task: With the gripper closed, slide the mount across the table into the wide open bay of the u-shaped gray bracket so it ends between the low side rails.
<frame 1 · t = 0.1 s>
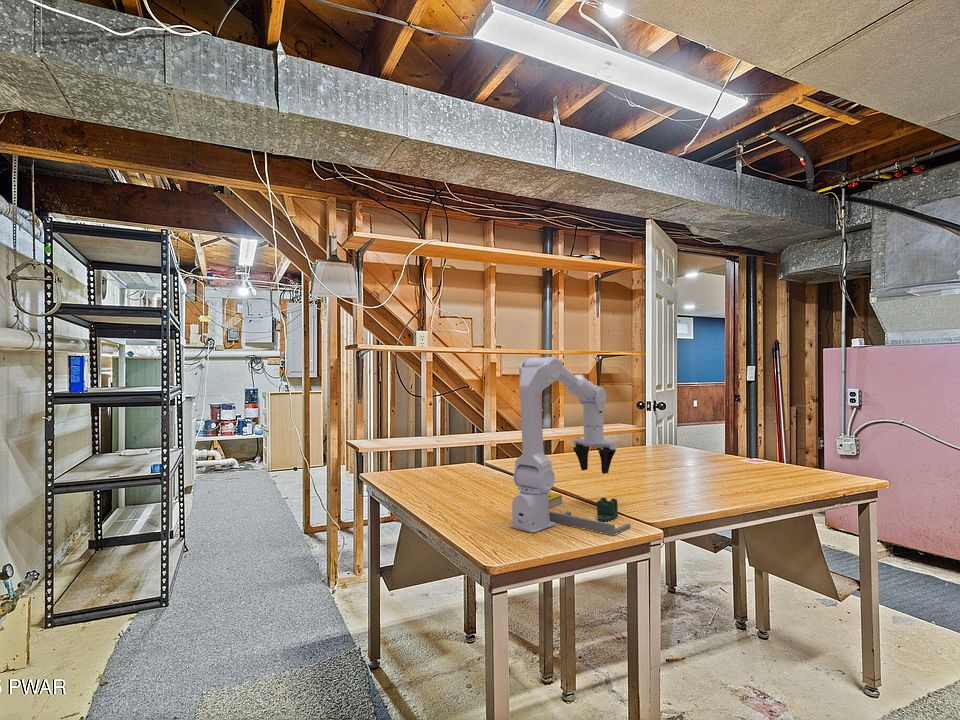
hand: (594, 471, 152), 10 cm above the table, tool pointing down, fingers open, 7 cm apart
u-shaped gray bracket: (591, 523, 133), on the table
mount: (607, 518, 139), on the table
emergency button: (541, 507, 154), on the table
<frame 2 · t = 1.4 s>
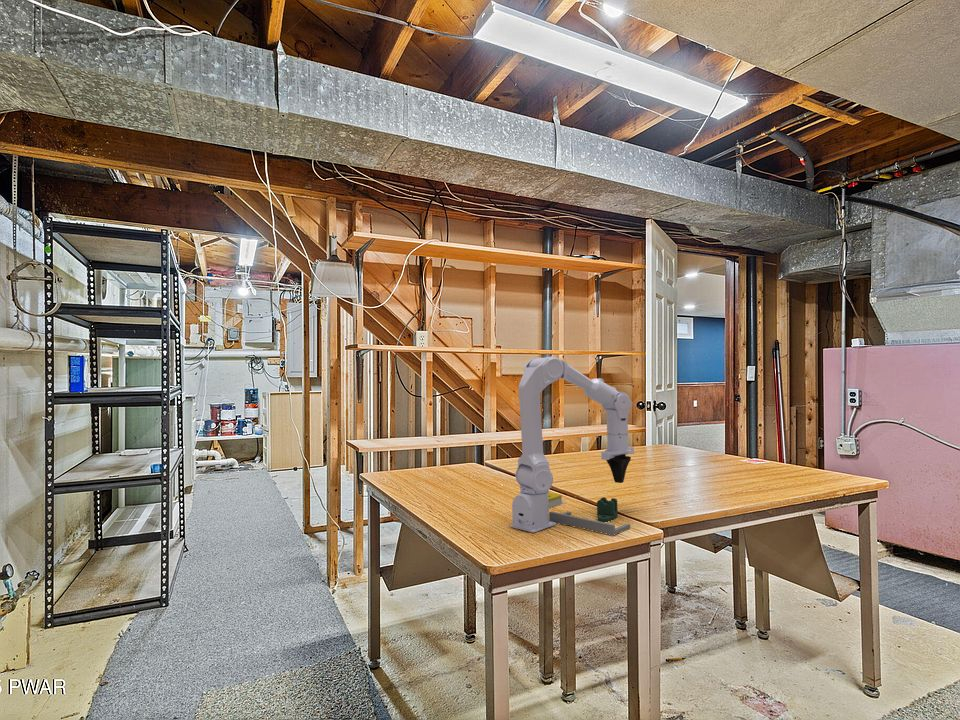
hand: (619, 482, 144), 8 cm above the table, tool pointing down, fingers closed
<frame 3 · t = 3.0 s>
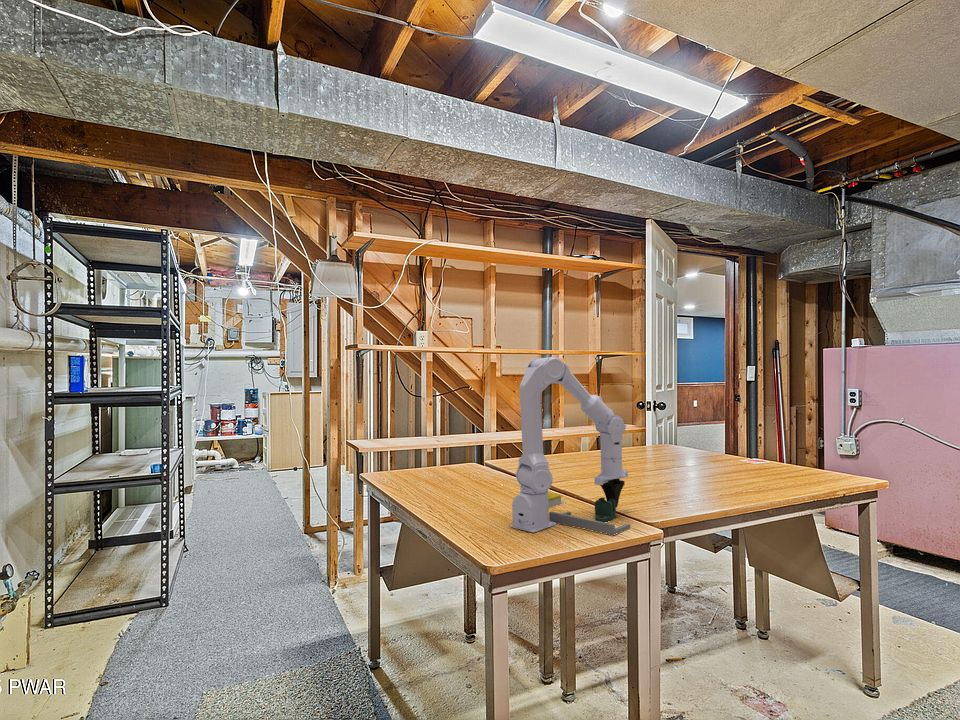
hand: (612, 507, 141), 2 cm above the table, tool pointing down, fingers closed
mount: (605, 519, 138), on the table, touching gripper
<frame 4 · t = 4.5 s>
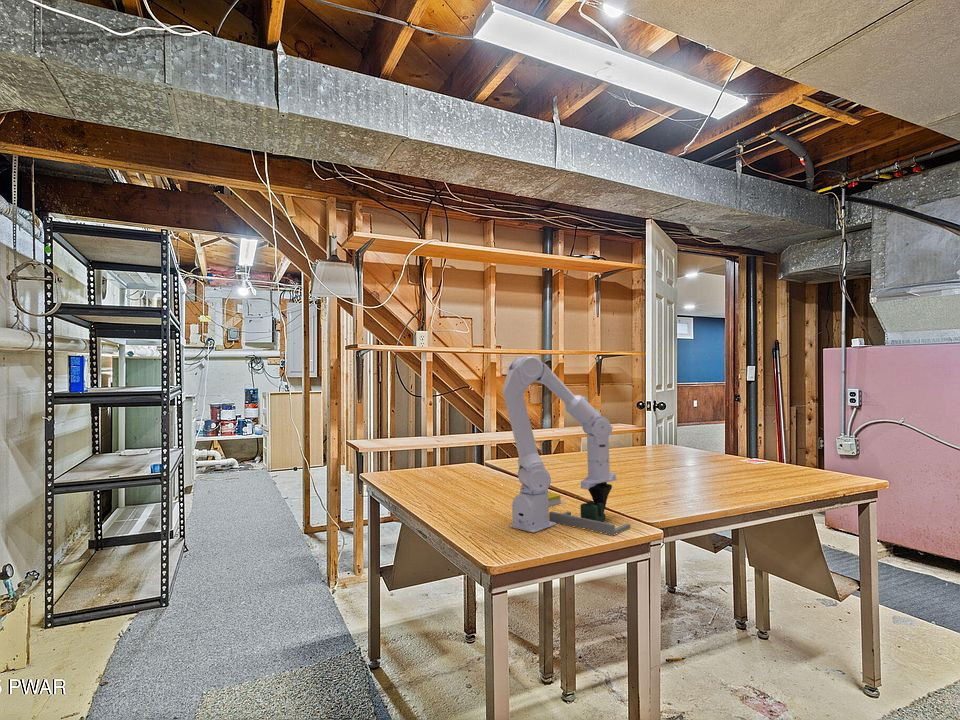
hand: (600, 511, 136), 2 cm above the table, tool pointing down, fingers closed
mount: (592, 523, 134), on the table, touching gripper, u-shaped gray bracket
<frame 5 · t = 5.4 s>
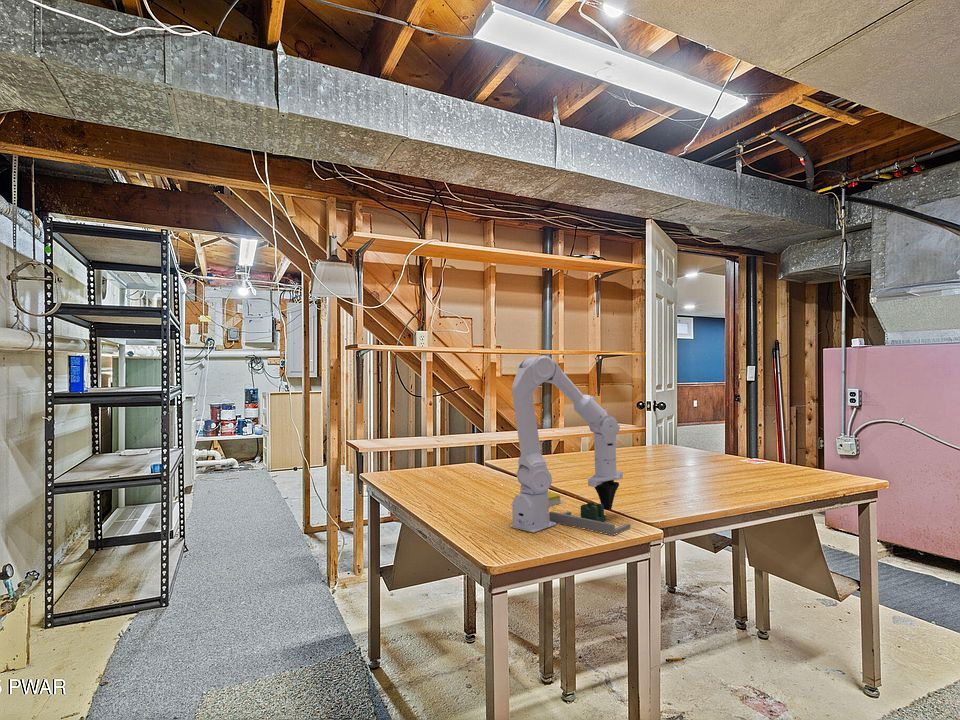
hand: (606, 509, 139), 2 cm above the table, tool pointing down, fingers closed
mount: (592, 524, 134), on the table
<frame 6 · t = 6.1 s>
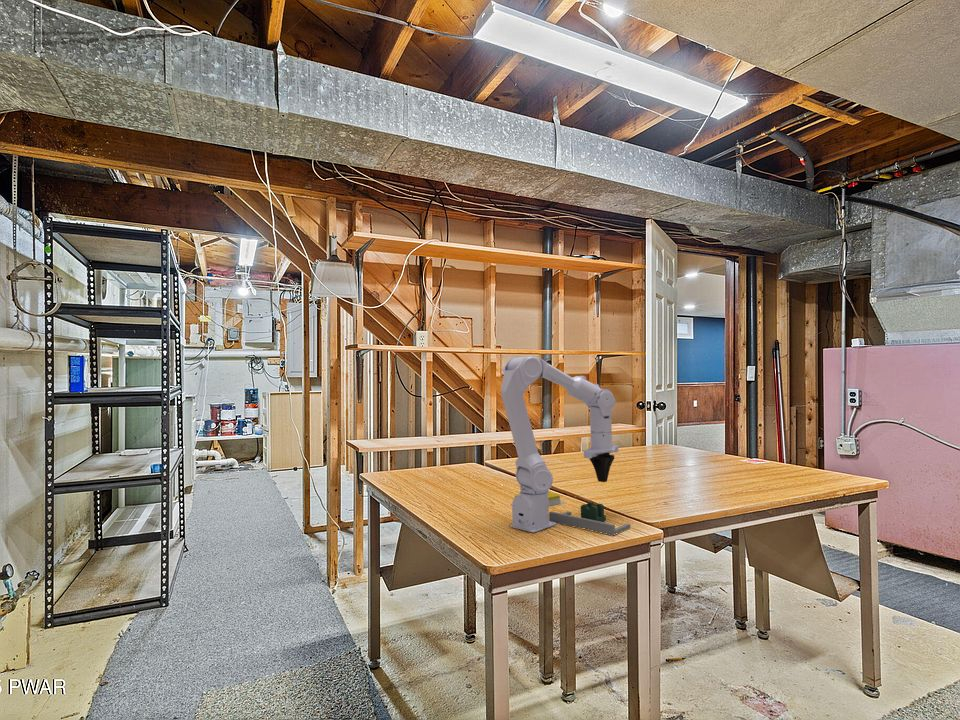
hand: (602, 481, 141), 9 cm above the table, tool pointing down, fingers closed
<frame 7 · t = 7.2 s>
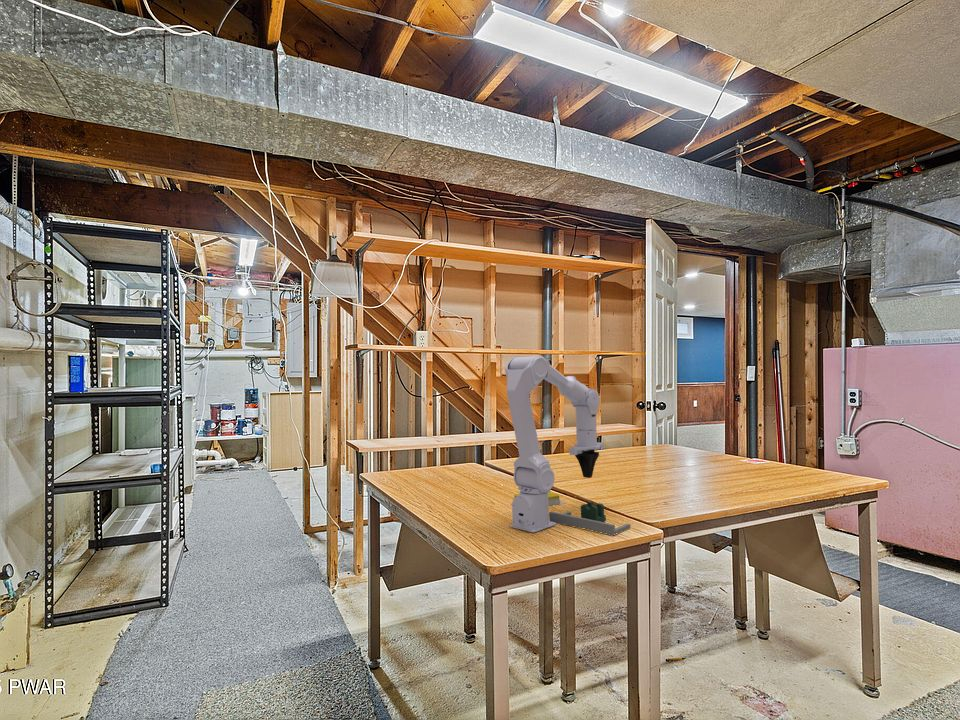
hand: (587, 477, 147), 9 cm above the table, tool pointing down, fingers closed
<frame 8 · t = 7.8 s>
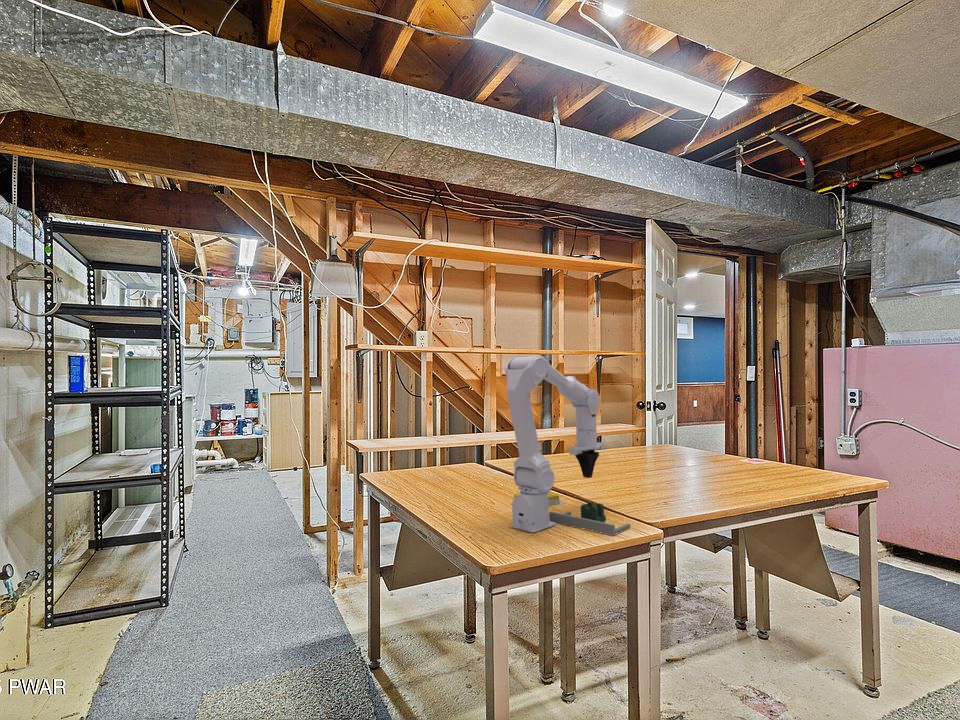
hand: (587, 477, 147), 9 cm above the table, tool pointing down, fingers closed
at the end: mount inside the target area on the u-shaped gray bracket (0.6 cm from its centre), point 0.0 cm above the u-shaped gray bracket's base; mount moved 7.0 cm from its start; mount tilted 0° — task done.
